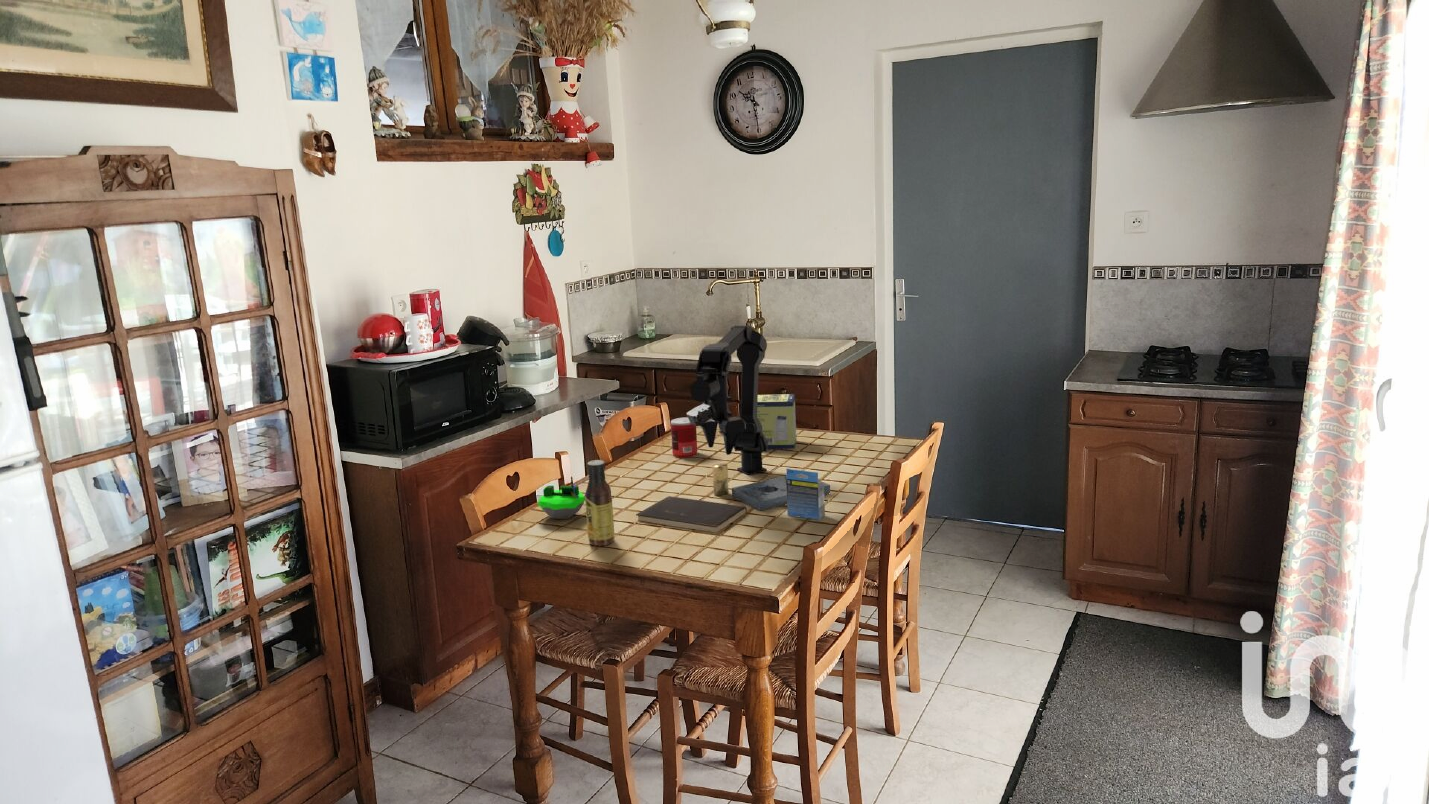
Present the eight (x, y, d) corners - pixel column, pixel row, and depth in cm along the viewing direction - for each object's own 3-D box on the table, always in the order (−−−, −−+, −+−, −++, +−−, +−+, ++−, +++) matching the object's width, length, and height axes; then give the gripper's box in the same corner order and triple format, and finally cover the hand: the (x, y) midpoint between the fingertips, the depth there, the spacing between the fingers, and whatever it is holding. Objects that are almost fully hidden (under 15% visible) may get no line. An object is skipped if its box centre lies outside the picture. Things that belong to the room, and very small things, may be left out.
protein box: (748, 441, 307) (747, 394, 304) (796, 440, 305) (795, 393, 301) (745, 449, 297) (743, 401, 294) (795, 449, 295) (793, 400, 291)
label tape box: (825, 515, 234) (824, 468, 231) (819, 520, 231) (818, 472, 228) (793, 511, 238) (792, 464, 236) (786, 516, 235) (785, 468, 232)
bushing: (711, 493, 255) (709, 465, 254) (723, 490, 257) (722, 462, 255) (718, 497, 252) (717, 468, 250) (731, 494, 254) (730, 465, 252)
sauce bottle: (589, 538, 226) (582, 458, 222) (615, 536, 226) (609, 456, 222) (587, 548, 220) (581, 466, 215) (614, 546, 220) (608, 464, 216)
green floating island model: (591, 511, 246) (589, 470, 244) (576, 525, 235) (573, 483, 233) (548, 509, 249) (545, 469, 247) (531, 524, 238) (528, 482, 235)
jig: (732, 496, 252) (731, 485, 251) (799, 481, 262) (799, 470, 261) (760, 510, 240) (760, 499, 239) (830, 493, 250) (830, 482, 250)
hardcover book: (716, 535, 226) (716, 526, 225) (636, 522, 237) (636, 514, 236) (747, 514, 239) (746, 505, 239) (670, 503, 250) (669, 495, 250)
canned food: (702, 452, 296) (700, 418, 293) (688, 459, 289) (686, 424, 287) (682, 450, 300) (680, 416, 298) (667, 456, 293) (665, 422, 291)
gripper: (673, 392, 253) (676, 448, 256) (708, 404, 237) (711, 464, 240) (709, 386, 258) (712, 441, 261) (745, 397, 242) (748, 456, 246)
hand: (719, 450), depth 252 cm, fingers open, 9 cm apart
